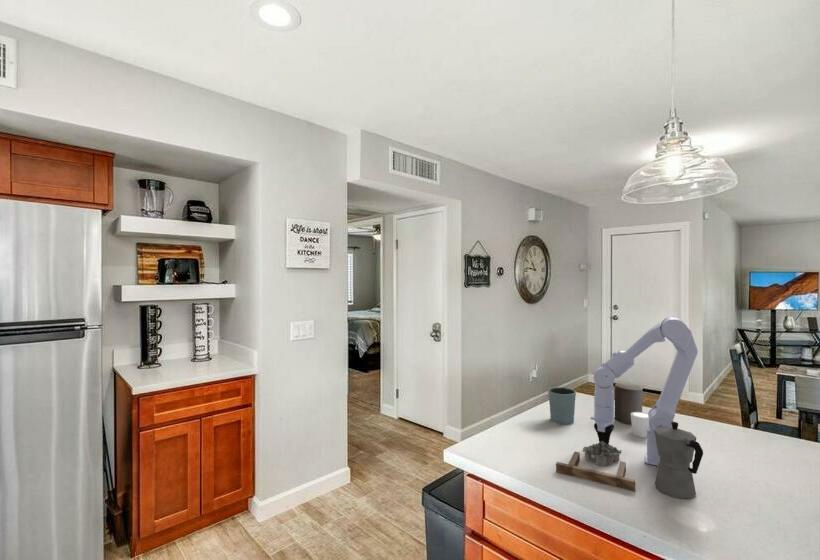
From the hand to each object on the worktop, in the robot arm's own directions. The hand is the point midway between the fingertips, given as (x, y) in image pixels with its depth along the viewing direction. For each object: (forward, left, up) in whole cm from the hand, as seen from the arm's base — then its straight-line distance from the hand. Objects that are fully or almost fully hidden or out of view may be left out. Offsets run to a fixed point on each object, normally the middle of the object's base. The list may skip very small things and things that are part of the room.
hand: (604, 446), depth 131 cm
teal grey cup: (+17, -22, -2) cm, 28 cm away
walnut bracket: (0, +17, -1) cm, 17 cm away
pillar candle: (-5, -36, -2) cm, 36 cm away
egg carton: (0, +7, -2) cm, 7 cm away
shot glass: (-10, -23, -2) cm, 25 cm away
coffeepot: (-20, +17, -2) cm, 26 cm away
